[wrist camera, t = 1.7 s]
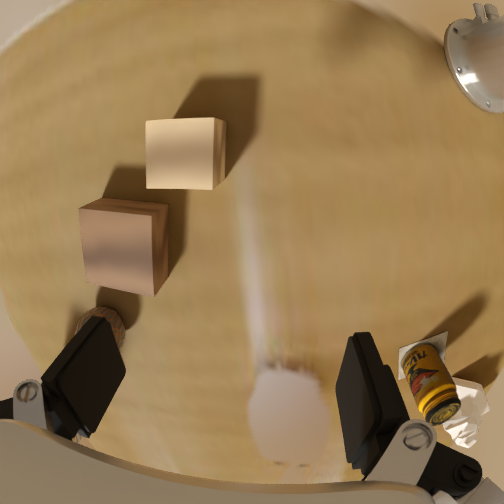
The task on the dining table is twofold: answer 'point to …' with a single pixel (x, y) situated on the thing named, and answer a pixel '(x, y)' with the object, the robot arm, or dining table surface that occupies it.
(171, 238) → the dining table surface
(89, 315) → the vase
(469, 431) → the white faceted lump
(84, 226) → the walnut block
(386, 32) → the dining table surface
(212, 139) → the oak cube
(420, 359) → the condiment
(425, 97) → the dining table surface
